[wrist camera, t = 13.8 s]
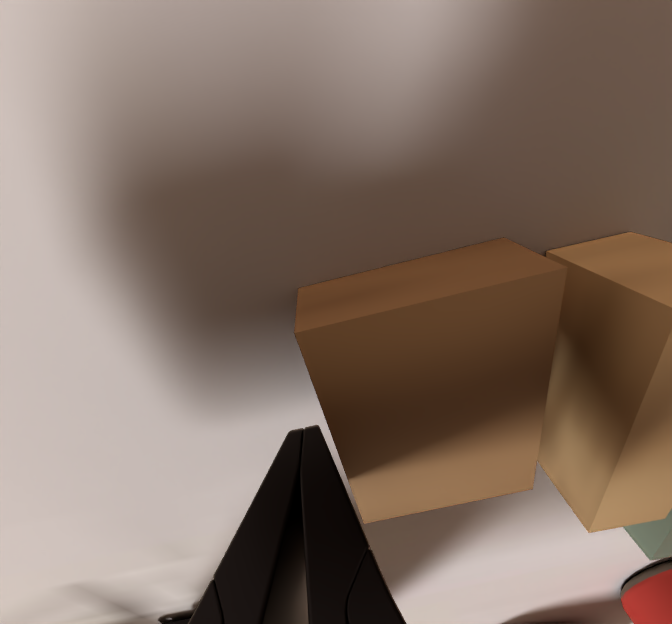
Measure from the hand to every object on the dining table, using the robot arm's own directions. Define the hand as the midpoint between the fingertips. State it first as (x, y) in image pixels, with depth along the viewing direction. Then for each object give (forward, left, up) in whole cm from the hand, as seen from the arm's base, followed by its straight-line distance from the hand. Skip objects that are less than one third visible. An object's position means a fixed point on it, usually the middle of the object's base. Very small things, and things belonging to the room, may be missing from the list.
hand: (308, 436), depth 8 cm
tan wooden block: (0, -3, -2) cm, 4 cm away
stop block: (0, -8, -1) cm, 8 cm away
